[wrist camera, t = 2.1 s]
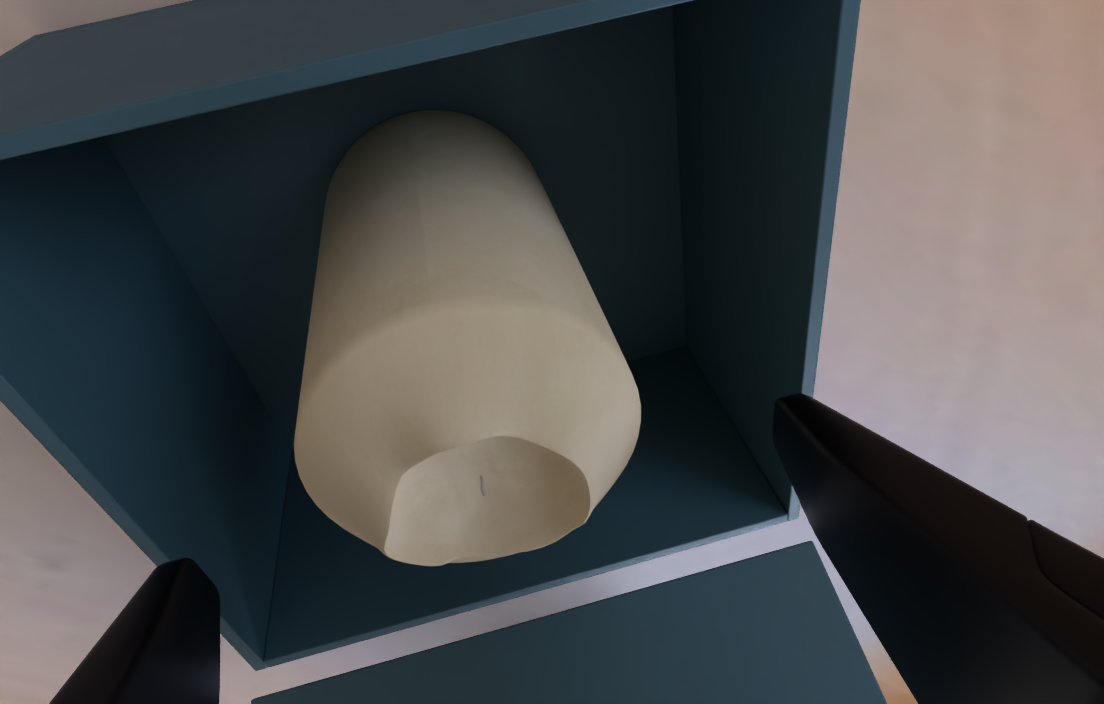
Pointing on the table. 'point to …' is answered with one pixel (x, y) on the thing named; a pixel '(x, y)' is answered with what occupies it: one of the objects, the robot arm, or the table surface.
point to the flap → (645, 649)
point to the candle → (455, 353)
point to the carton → (293, 247)
